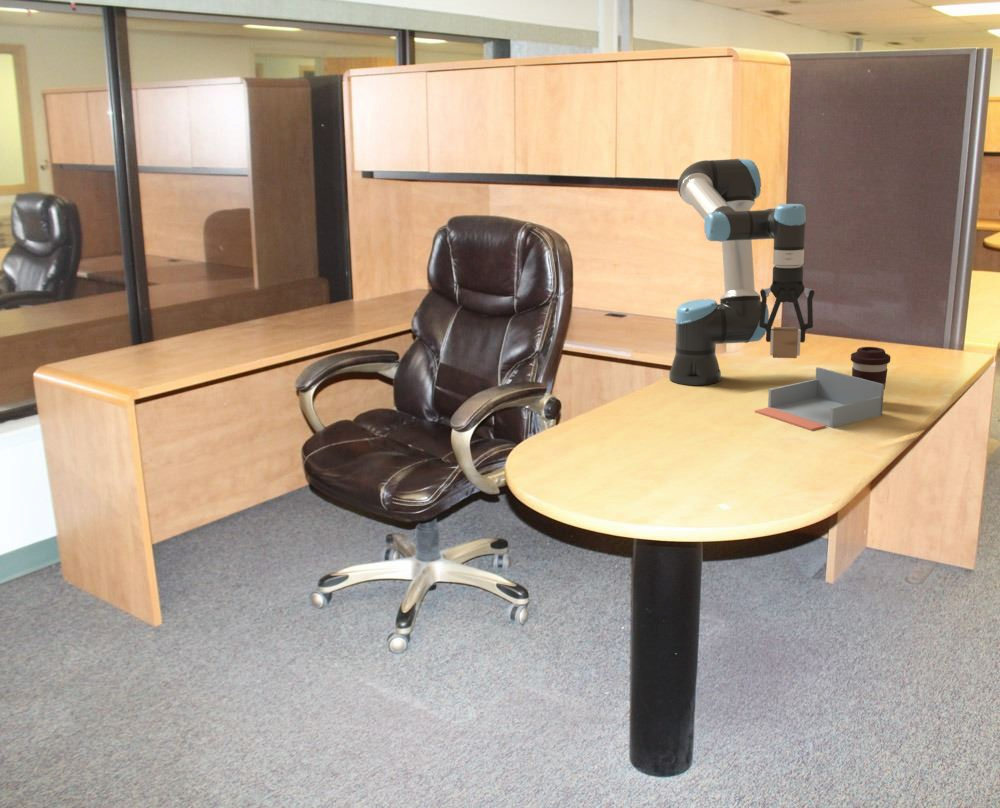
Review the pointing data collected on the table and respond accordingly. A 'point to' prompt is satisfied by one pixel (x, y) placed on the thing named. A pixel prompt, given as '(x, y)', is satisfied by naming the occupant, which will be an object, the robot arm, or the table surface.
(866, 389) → the truck bed
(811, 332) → the table surface
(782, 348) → the walnut block
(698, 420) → the table surface
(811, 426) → the panel
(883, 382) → the coffee cup
